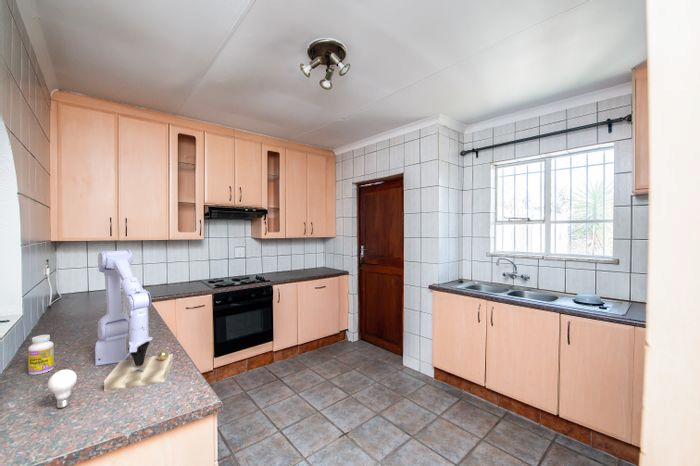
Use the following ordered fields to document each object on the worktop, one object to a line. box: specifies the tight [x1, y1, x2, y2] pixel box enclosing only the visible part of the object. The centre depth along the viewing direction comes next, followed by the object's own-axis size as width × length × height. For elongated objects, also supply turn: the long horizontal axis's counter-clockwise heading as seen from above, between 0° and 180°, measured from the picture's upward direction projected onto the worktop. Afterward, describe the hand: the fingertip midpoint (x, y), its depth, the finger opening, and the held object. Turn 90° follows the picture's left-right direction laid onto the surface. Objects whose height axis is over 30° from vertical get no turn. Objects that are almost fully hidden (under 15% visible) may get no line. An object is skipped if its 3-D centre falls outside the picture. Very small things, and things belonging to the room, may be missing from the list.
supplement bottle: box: [27, 334, 55, 376], centre depth 113 cm, size 7×7×13 cm
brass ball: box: [156, 349, 169, 360], centre depth 115 cm, size 4×4×4 cm
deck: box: [103, 353, 174, 392], centre depth 110 cm, size 17×16×4 cm
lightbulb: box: [47, 368, 78, 409], centre depth 91 cm, size 6×6×11 cm
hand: (139, 364), depth 109 cm, fingers closed
